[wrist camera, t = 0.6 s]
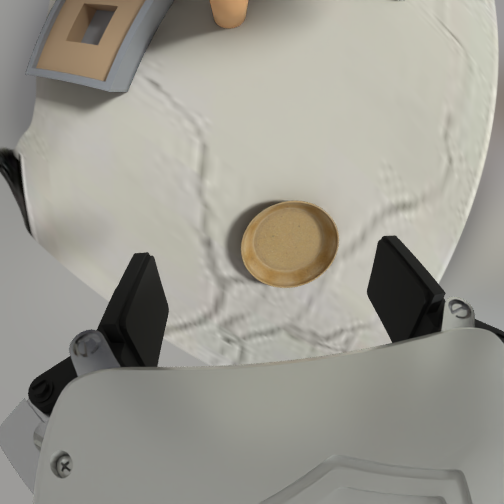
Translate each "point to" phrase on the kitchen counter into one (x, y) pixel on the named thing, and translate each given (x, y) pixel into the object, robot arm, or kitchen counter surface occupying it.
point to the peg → (229, 12)
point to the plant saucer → (290, 244)
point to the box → (96, 41)
